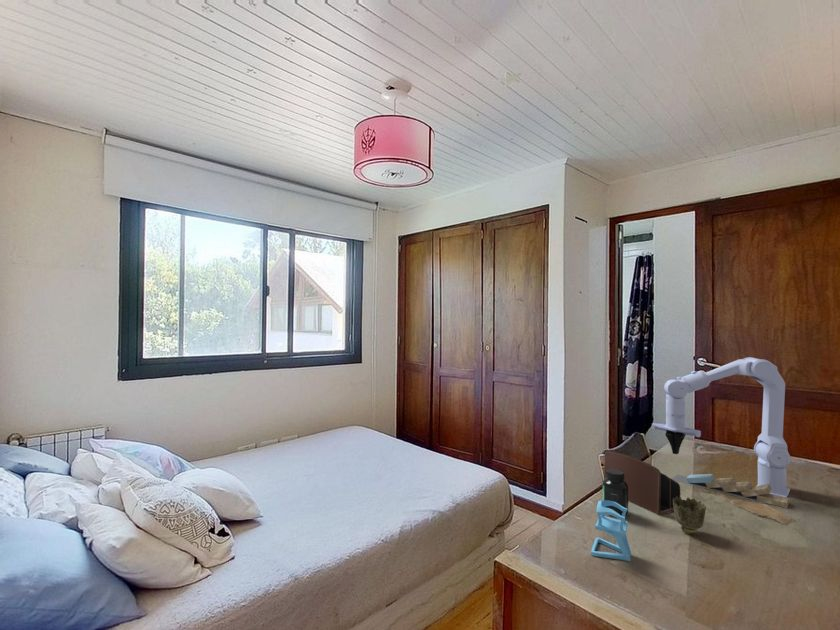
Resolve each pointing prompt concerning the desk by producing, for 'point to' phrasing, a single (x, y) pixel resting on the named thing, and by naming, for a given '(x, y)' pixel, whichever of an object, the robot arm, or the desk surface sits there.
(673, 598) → the desk surface
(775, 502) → the tile
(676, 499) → the cup
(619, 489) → the supplement bottle
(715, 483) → the tile
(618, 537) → the light blue stand
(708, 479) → the tile
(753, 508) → the pottery shard
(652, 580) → the desk surface
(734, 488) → the tile
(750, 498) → the felt runner
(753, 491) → the tile
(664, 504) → the letter holder
